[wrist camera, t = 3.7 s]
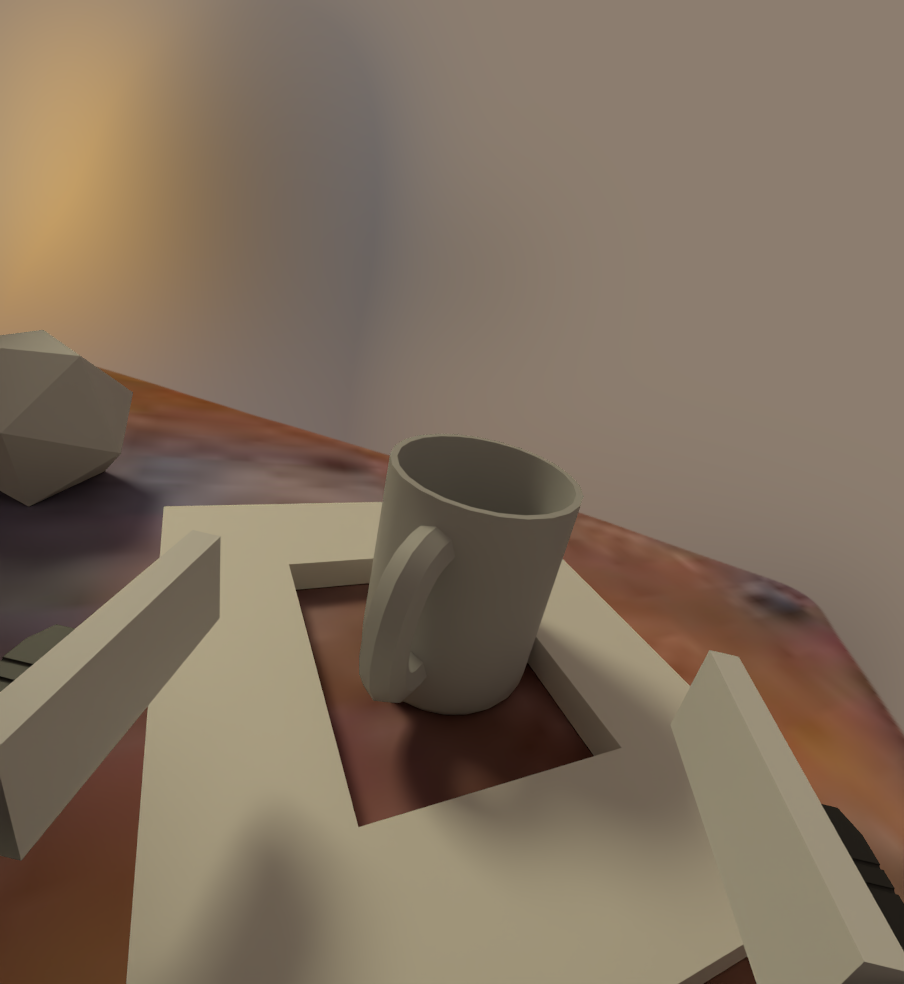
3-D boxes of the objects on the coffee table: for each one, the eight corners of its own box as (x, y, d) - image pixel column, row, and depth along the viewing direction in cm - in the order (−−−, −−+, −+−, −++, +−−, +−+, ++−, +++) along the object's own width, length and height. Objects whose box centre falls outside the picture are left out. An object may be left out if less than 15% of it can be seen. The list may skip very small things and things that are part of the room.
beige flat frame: (164, 531, 27) (163, 506, 26) (497, 518, 36) (503, 499, 35) (106, 1355, 8) (98, 1334, 7) (846, 894, 17) (870, 866, 16)
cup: (542, 645, 25) (601, 476, 21) (447, 819, 17) (517, 589, 13) (413, 583, 27) (446, 422, 24) (273, 706, 19) (289, 486, 15)
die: (53, 447, 34) (-105, 324, 26) (176, 402, 34) (53, 265, 26) (20, 551, 29) (-186, 436, 21) (165, 499, 29) (9, 364, 21)
